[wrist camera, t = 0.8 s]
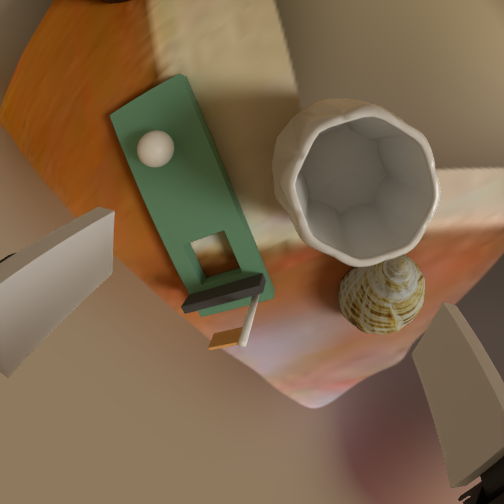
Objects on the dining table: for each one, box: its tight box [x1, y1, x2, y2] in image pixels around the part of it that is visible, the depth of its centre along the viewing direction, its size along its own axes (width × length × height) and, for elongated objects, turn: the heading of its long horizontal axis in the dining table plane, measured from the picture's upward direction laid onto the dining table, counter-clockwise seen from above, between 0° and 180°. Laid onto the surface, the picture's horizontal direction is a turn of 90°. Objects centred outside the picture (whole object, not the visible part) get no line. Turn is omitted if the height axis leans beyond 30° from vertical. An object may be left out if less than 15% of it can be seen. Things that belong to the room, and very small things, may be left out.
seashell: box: [338, 254, 425, 334], centre depth 33 cm, size 10×10×10 cm
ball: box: [137, 130, 174, 167], centre depth 30 cm, size 4×4×4 cm
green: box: [110, 74, 275, 350], centre depth 30 cm, size 28×10×12 cm, turn 22°
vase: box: [272, 99, 441, 267], centre depth 24 cm, size 14×14×15 cm
